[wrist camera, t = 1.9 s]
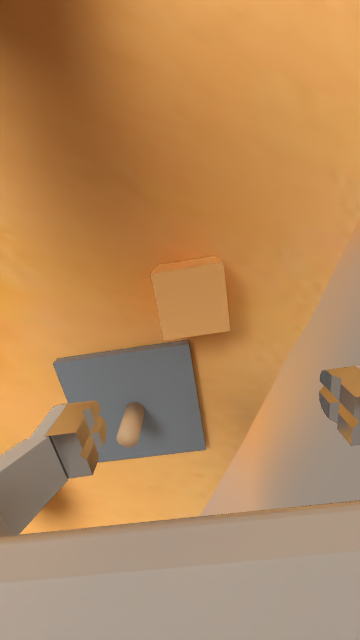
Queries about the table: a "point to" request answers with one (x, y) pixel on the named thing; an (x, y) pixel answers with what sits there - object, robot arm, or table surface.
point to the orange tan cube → (191, 297)
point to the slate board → (139, 398)
